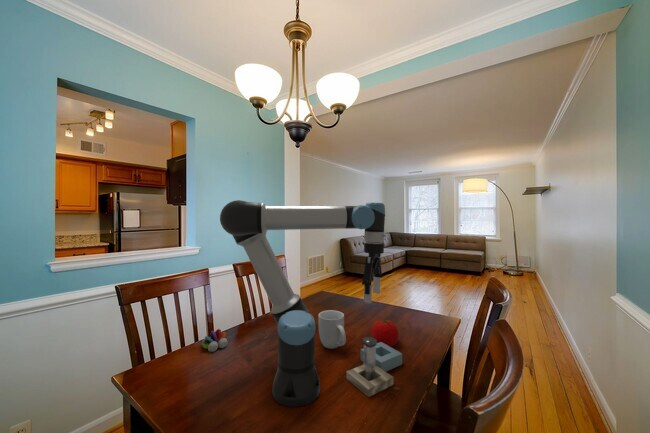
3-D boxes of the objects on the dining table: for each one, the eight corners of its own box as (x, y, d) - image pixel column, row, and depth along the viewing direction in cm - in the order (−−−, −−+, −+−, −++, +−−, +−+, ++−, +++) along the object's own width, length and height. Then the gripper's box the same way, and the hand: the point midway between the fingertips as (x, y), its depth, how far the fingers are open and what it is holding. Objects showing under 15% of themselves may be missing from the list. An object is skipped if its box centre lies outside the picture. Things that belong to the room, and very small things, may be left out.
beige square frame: (368, 397, 81) (368, 389, 81) (346, 378, 91) (346, 371, 91) (393, 384, 87) (393, 377, 87) (370, 368, 97) (370, 361, 97)
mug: (355, 350, 109) (355, 319, 109) (333, 358, 103) (333, 325, 103) (334, 336, 122) (334, 308, 121) (313, 343, 116) (313, 313, 115)
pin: (369, 387, 86) (369, 344, 86) (359, 380, 90) (359, 339, 90) (379, 383, 88) (379, 341, 88) (369, 375, 92) (370, 335, 92)
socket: (381, 373, 93) (381, 362, 93) (360, 359, 103) (360, 349, 103) (402, 364, 100) (402, 353, 99) (380, 351, 109) (380, 341, 109)
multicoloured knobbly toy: (230, 346, 112) (230, 329, 112) (207, 355, 105) (207, 337, 105) (221, 340, 118) (221, 324, 118) (198, 348, 111) (198, 330, 111)
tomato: (394, 354, 107) (394, 328, 107) (367, 346, 112) (367, 322, 112) (401, 341, 117) (401, 318, 117) (376, 335, 123) (376, 313, 123)
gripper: (376, 246, 89) (373, 309, 90) (389, 241, 112) (388, 291, 112) (354, 244, 93) (352, 305, 93) (372, 239, 115) (370, 288, 115)
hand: (372, 297), depth 102 cm, fingers open, 13 cm apart
